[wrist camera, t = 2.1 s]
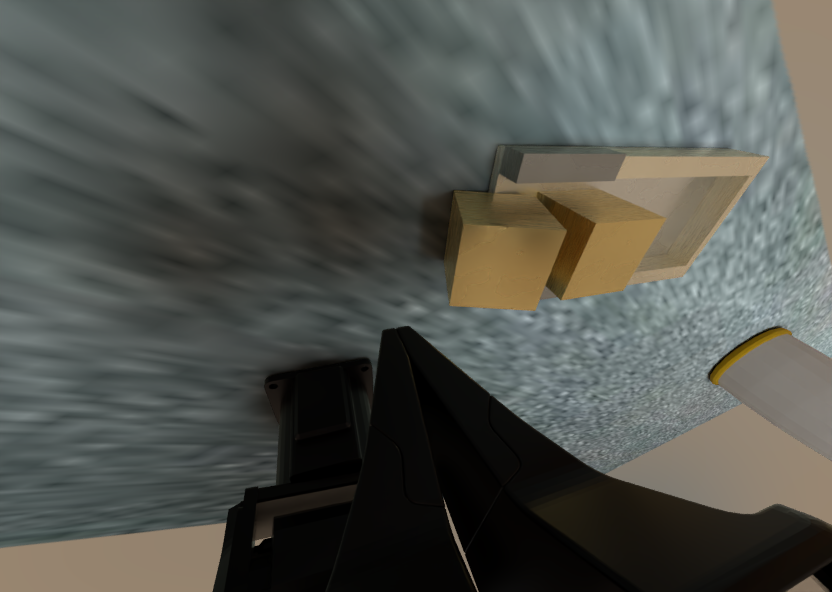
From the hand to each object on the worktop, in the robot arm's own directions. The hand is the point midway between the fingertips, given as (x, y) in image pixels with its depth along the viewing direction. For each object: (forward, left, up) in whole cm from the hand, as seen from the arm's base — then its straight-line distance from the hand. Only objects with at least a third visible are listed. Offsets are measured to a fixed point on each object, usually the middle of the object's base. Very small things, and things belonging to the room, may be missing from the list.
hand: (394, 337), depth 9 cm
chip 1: (0, -7, -6) cm, 9 cm away
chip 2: (0, -11, -6) cm, 13 cm away
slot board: (0, -15, -7) cm, 16 cm away
